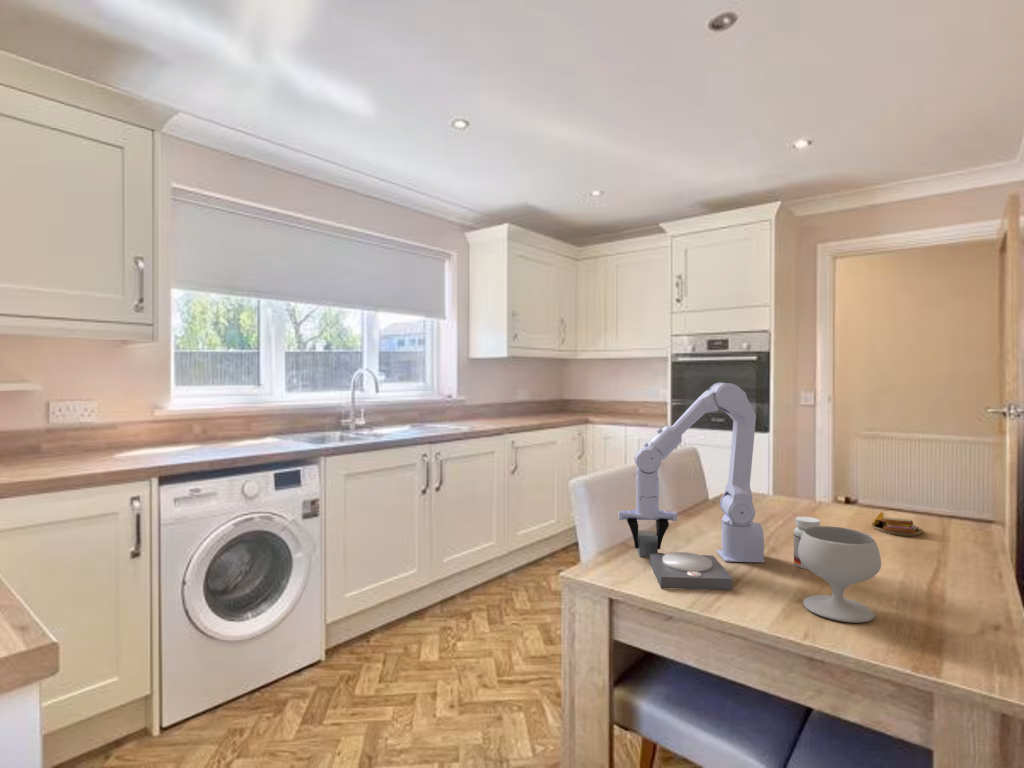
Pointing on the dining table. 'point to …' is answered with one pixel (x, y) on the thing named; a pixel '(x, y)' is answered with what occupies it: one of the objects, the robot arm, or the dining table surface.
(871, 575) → the chalice
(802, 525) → the pill bottle
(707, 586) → the kitchen scale
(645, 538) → the block
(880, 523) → the toy sandwich meal
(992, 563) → the dining table surface
